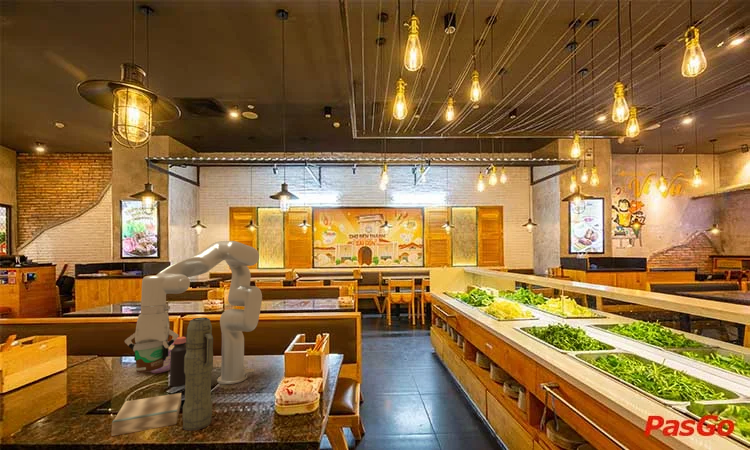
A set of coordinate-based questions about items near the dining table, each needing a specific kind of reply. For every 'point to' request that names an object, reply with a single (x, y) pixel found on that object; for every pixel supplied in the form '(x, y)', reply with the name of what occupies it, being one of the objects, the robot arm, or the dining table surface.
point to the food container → (149, 356)
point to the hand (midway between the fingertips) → (151, 360)
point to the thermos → (198, 374)
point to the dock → (147, 414)
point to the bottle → (178, 362)
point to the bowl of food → (165, 362)
